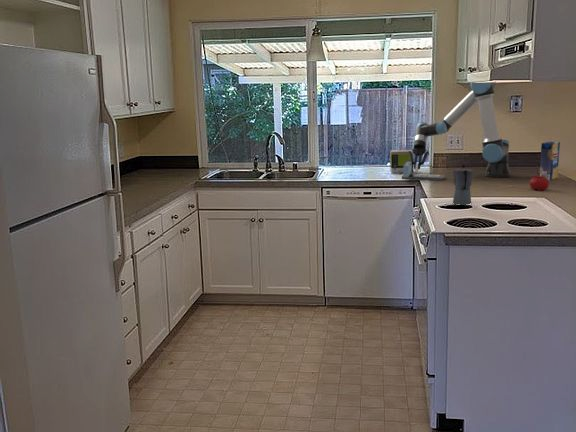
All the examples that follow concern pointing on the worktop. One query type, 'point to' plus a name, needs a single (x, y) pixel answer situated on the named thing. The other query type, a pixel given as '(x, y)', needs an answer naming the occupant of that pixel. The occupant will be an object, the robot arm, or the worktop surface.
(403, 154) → the tea box
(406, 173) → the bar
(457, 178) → the moka pot
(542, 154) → the beverage box
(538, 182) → the pomegranate
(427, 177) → the plate
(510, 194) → the worktop surface
